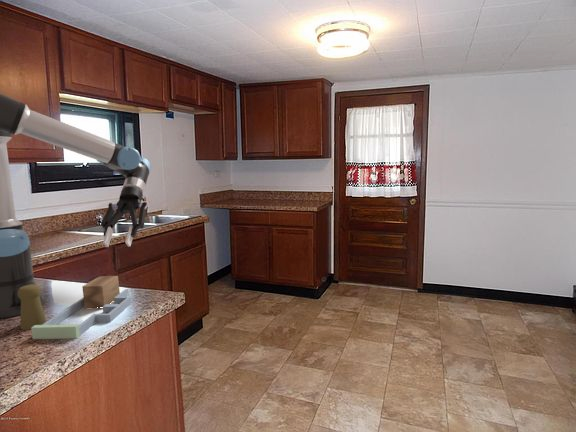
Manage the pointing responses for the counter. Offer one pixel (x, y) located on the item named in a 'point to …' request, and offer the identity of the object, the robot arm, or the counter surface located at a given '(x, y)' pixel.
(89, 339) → the counter surface
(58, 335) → the trap lane
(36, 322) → the cork
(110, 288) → the walnut block
